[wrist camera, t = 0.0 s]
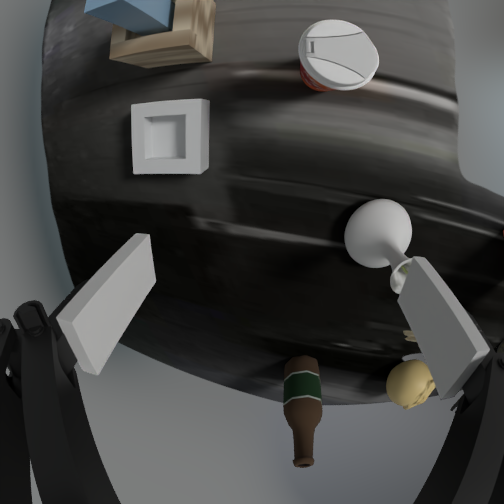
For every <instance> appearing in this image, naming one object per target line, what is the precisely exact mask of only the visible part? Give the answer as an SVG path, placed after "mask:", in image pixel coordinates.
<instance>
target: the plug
mask: <svg viewBox="0 0 504 504" xmlns="http://www.w3.org/2000/svg"><path fill="white" fill-rule="evenodd" d="M174 11H175V4H174V3H173V2H172V1H171V0H87V1H86V6H85V11H84V13H86V14H89V15H92V16H95V17H98V18H100V19H103V20H105V21H108V22H111V23H113V24H116V25H118V26H120V27H123V28H125V29H127V30H130V31H132V32H134V33H136V34H139V35H141V36H146V35H151V34H156V33H162V32H168V31H173V20H174Z"/></svg>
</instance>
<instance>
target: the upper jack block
mask: <svg viewBox="0 0 504 504" xmlns="http://www.w3.org/2000/svg"><path fill="white" fill-rule="evenodd" d="M171 1H172V2H173V3H174V4H175V11H174V20H173V31H168V32H162V33H156V34H151V35H146V36H141V35H139V34H136V33H134V32H132V31H130V30H127V29H125V28H123V27H120V26H118V25H116V24H113V29H112V37H111V46H110V58H109V59H111V60H116V61H120V62H124V63H128V64H132V65H136V66H140V67H144V68H153V67H160V66H167V65H176V64H186V63H198V62H212V49H213V34H214V21H215V9H216V4H215V2H214V1H213V0H171Z"/></svg>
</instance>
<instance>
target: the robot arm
mask: <svg viewBox="0 0 504 504" xmlns="http://www.w3.org/2000/svg"><path fill="white" fill-rule="evenodd" d="M155 282H156V278H155V272H154V265H153V258H152V251H151V243H150V235H149V234H139V233H136V234H135V235H134V236H133V237H132V238H131V239H130V240H129V241H128V242H126V243H125V244H124V245H123V246H122V247H121V248H120V249H119V250H118V251H117V252H116V253H115V254H114V255H113V256H112V257H111V258H110V259H109V260H108V261H107V262H106V263H105V264H104V265H103V266H102V267H101V268H100V269H99V270H98V271H97V273H96V274H95V275H94V276H93V277H92V278H91V279H90V280H85V281H84V282H82V283H80V284H79V285H77V286H76V287H75V288H74V289H73V291H72V292H71V294H69V295H68V296H67V297H66V299H65V300H63V301H62V303H61V304H60V305H59V306H58V307H57V308H56V309H55V310H54V311H53V313H52V314H51V315H50V316H49V317H47V314H46V312H45V310H44V307H43V305H42V303H40V302H39V301H35V300H34V301H28V302H26V303H24V304H22V305H21V306H19V307H18V308H17V310H16V311H15V313H14V315H13V317H14V319H15V321H16V322H17V325H18V327H19V328H20V329H14V327H13V326H12V324H11V322H10V320H8V319H5V318H3V319H0V504H32V495H31V480H30V460H31V464H32V469H33V473H34V477H35V481H36V484H37V487H38V491H39V495H40V498H41V501H42V504H121V503H120V501H119V499H118V497H117V495H116V493H115V491H114V489H113V486H112V484H111V482H110V480H109V477H108V475H107V473H106V470H105V468H104V465H103V463H102V460H101V458H100V455H99V452H98V450H97V447H96V444H95V441H94V438H93V435H92V432H91V429H90V425H89V422H88V419H87V415H86V412H85V408H84V404H83V400H82V396H81V392H80V388H79V383H78V379H77V374H76V371H75V369H74V365H75V364H76V362H77V361H78V363H79V365H80V366H81V368H82V370H83V371H85V372H88V373H91V374H94V375H97V376H98V375H99V373H100V372H101V370H102V368H103V366H104V365H105V363H106V361H107V359H108V357H109V356H110V354H111V352H112V351H113V349H114V347H115V346H116V344H117V342H118V341H119V339H120V337H121V336H122V334H123V332H124V331H125V329H126V327H127V326H128V324H129V323H130V321H131V319H132V318H133V316H134V315H135V313H136V311H137V310H138V308H139V307H140V305H141V304H142V302H143V300H144V299H145V297H146V296H147V294H148V293H149V291H150V290H151V288H152V287H153V285H154V284H155ZM398 303H399V305H400V307H401V309H402V311H403V313H404V315H405V317H406V319H407V321H408V323H409V325H410V327H411V329H412V332H413V334H414V336H415V338H416V340H417V343H418V345H419V347H420V349H421V352H422V354H423V356H424V358H425V361H426V363H427V366H428V368H429V371H430V373H431V376H432V378H433V381H434V383H435V386H436V389H437V391H438V394H439V397H440V399H441V400H442V399H447V398H451V397H454V396H455V395H456V394H457V393H458V392H459V390H460V389H461V388H462V389H463V391H464V394H463V395H462V396H461V398H460V399H459V400H458V401H457V402H456V403H455V404H454V406H453V407H452V408H451V411H453V409H455V407H457V406H458V407H457V410H456V411H455V416H454V419H453V422H452V425H451V427H450V430H449V433H448V435H447V438H446V440H445V442H444V445H443V447H442V449H441V452H440V454H439V456H438V458H437V460H436V463H435V465H434V467H433V469H432V471H431V473H430V475H429V477H428V479H427V480H426V482H425V484H424V486H423V488H422V490H421V492H420V493H419V495H418V497H417V498H416V500H415V502H414V503H413V504H504V353H502V352H497V353H496V352H495V351H494V349H493V347H492V346H491V344H490V342H489V341H488V339H487V337H486V336H485V334H484V333H483V332H482V330H481V328H480V327H479V325H477V324H478V323H477V322H476V321H475V319H474V318H473V316H472V315H471V314H470V313H469V312H467V311H466V310H465V309H464V308H463V307H462V305H461V304H460V302H459V301H458V300H457V298H456V297H455V295H454V294H453V293H452V291H451V290H450V289H449V287H448V286H447V285H446V283H445V282H444V281H443V280H442V278H441V277H440V276H439V274H438V273H437V272H436V271H435V269H434V268H433V267H432V266H431V264H430V263H429V262H428V261H427V260H426V258H424V257H414V256H413V258H412V262H411V265H410V268H409V271H408V274H407V276H406V279H405V282H404V285H403V288H402V290H401V293H400V296H399V298H398ZM7 367H8V369H9V370H10V374H9V376H7V374H6V368H7Z"/></svg>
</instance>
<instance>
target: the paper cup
mask: <svg viewBox="0 0 504 504" xmlns="http://www.w3.org/2000/svg"><path fill="white" fill-rule="evenodd" d="M298 52H299V57H300V74H301V78H302V80H303V81H304V83H305V84H306V85H307V86H308V87H310V88H311V89H313V90H316V91H331V90H336V89H337V90H352V89H356V88H359V87H361V86H363V85H365V84H366V83H367V82H369V81H370V80H371V78H372V77H373V75H374V73H375V71H376V69H377V67H378V65H379V58H378V53H377V49H376V48H375V46H374V45H373V43H372V42H371V40H370V39H369V37H368V36H367V35H366V34H365V32H364V31H363V30H362V29H360V28H359V27H357V26H355V25H353V24H351V23H349V22H346V21H341V20H324V21H319V22H317V23H314V24H313V25H311V26H310V27H308V28H307V29H306V30H305V31H304V33H303V34H302V36H301V38H300V41H299V47H298Z"/></svg>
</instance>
